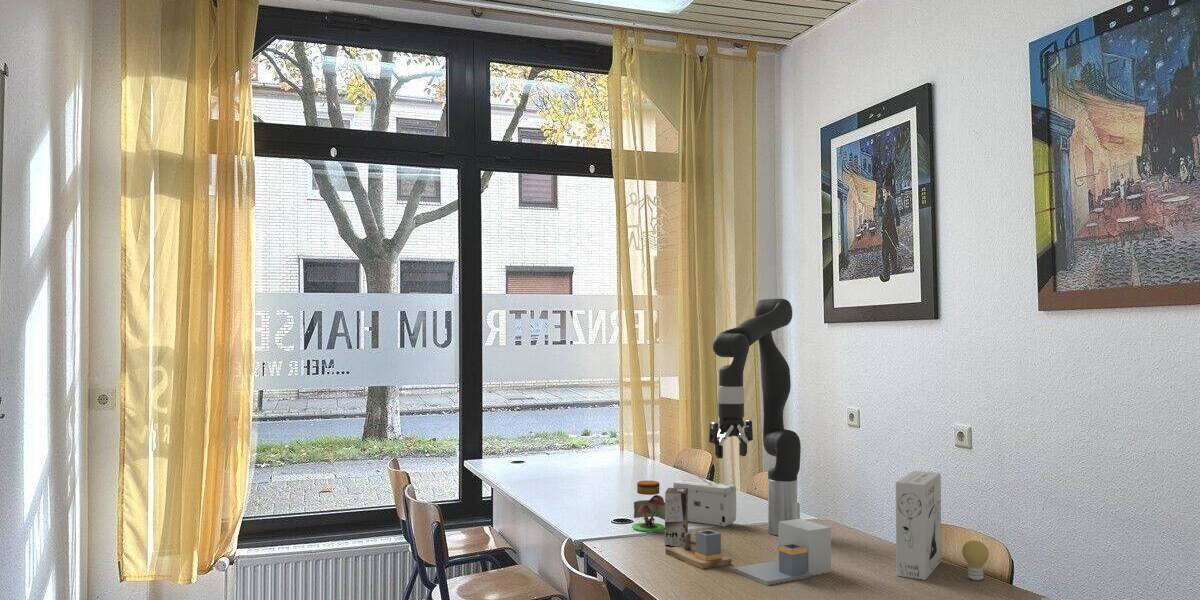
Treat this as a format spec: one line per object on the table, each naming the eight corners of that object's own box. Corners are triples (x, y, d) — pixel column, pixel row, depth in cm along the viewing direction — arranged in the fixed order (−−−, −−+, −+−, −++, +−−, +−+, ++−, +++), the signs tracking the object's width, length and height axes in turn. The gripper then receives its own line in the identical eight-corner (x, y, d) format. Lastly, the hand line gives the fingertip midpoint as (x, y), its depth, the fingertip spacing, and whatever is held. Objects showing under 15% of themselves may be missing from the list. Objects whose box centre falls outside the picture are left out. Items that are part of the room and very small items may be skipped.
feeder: (797, 560, 243) (797, 517, 244) (833, 573, 231) (833, 528, 232) (733, 571, 232) (733, 526, 233) (767, 585, 220) (767, 538, 220)
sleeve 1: (710, 554, 244) (710, 529, 244) (721, 558, 240) (721, 533, 240) (694, 556, 242) (694, 531, 242) (706, 561, 237) (706, 535, 237)
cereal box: (925, 580, 225) (924, 484, 225) (895, 576, 229) (895, 481, 229) (941, 561, 243) (940, 472, 244) (913, 557, 247) (913, 470, 248)
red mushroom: (670, 532, 276) (670, 485, 276) (630, 532, 276) (631, 485, 277) (667, 524, 288) (668, 479, 288) (630, 523, 288) (630, 478, 288)
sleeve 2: (793, 568, 231) (793, 542, 232) (807, 574, 227) (807, 547, 227) (778, 571, 229) (778, 545, 229) (791, 576, 224) (791, 549, 224)
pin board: (693, 549, 255) (693, 529, 255) (731, 564, 239) (731, 542, 240) (665, 553, 250) (665, 532, 250) (701, 569, 235) (701, 546, 235)
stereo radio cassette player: (737, 523, 289) (737, 464, 290) (727, 528, 282) (727, 467, 283) (681, 516, 300) (681, 458, 301) (670, 520, 293) (670, 461, 294)
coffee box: (685, 547, 258) (685, 493, 258) (664, 546, 259) (664, 492, 260) (688, 539, 267) (688, 487, 267) (667, 538, 268) (668, 486, 269)
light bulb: (958, 575, 229) (957, 538, 229) (981, 575, 230) (980, 537, 230) (970, 583, 223) (969, 544, 223) (993, 582, 223) (993, 543, 223)
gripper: (742, 399, 259) (742, 453, 258) (703, 401, 252) (703, 457, 251) (758, 401, 252) (758, 457, 252) (719, 403, 245) (719, 460, 245)
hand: (731, 457), depth 252 cm, fingers open, 8 cm apart
